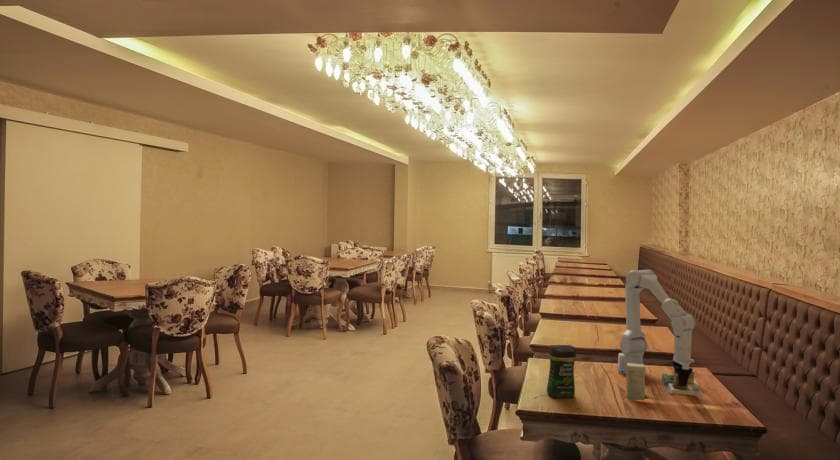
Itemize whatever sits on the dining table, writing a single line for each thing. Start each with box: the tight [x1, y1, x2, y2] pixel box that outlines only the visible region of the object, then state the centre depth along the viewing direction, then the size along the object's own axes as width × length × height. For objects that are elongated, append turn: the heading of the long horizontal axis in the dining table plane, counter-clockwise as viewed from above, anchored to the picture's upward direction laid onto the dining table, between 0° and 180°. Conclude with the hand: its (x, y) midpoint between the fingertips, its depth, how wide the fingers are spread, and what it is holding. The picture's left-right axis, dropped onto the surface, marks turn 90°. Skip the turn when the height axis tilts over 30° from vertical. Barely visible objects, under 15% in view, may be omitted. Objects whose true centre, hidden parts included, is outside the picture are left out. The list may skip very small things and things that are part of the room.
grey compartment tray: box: [663, 379, 704, 397], centre depth 207 cm, size 12×15×2 cm
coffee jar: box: [546, 344, 577, 399], centre depth 199 cm, size 10×8×19 cm
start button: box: [666, 373, 674, 377], centre depth 212 cm, size 3×3×3 cm
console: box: [661, 372, 674, 386], centre depth 212 cm, size 5×5×3 cm
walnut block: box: [673, 372, 688, 390], centre depth 204 cm, size 4×4×6 cm
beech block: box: [688, 370, 695, 385], centre depth 210 cm, size 4×4×6 cm
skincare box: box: [625, 363, 646, 401], centre depth 198 cm, size 6×4×12 cm
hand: (681, 383), depth 204 cm, fingers open, 6 cm apart
